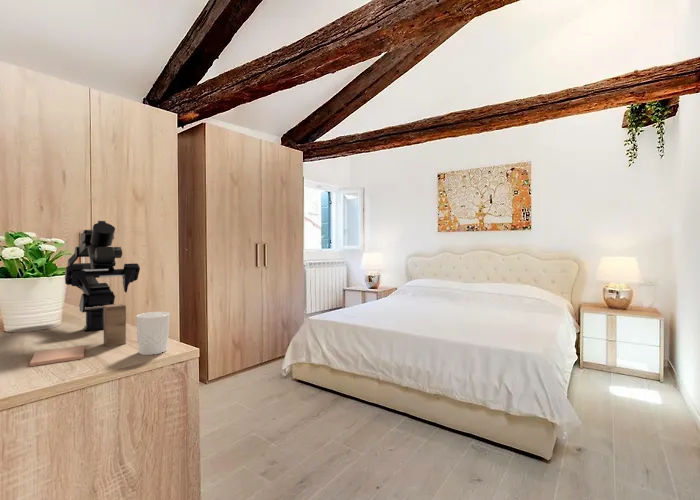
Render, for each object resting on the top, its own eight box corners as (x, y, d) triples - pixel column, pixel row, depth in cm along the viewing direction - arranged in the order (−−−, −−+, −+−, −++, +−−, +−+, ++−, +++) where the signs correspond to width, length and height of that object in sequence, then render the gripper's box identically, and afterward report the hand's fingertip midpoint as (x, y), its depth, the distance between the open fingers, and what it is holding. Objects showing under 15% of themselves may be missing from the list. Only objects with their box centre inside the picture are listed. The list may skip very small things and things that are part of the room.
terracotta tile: (35, 355, 90) (35, 351, 90) (84, 348, 96) (84, 345, 96) (29, 366, 82) (29, 363, 82) (83, 358, 88) (83, 355, 88)
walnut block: (103, 343, 101) (103, 305, 101) (121, 340, 104) (121, 303, 104) (107, 346, 98) (107, 307, 98) (125, 343, 101) (125, 305, 101)
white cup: (144, 358, 89) (144, 318, 89) (131, 351, 94) (131, 314, 94) (175, 350, 95) (175, 314, 95) (161, 345, 100) (161, 310, 100)
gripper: (65, 238, 103) (70, 275, 95) (137, 239, 116) (148, 271, 108) (62, 265, 108) (67, 303, 100) (132, 263, 121) (141, 296, 113)
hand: (108, 292), depth 105 cm, fingers open, 9 cm apart
